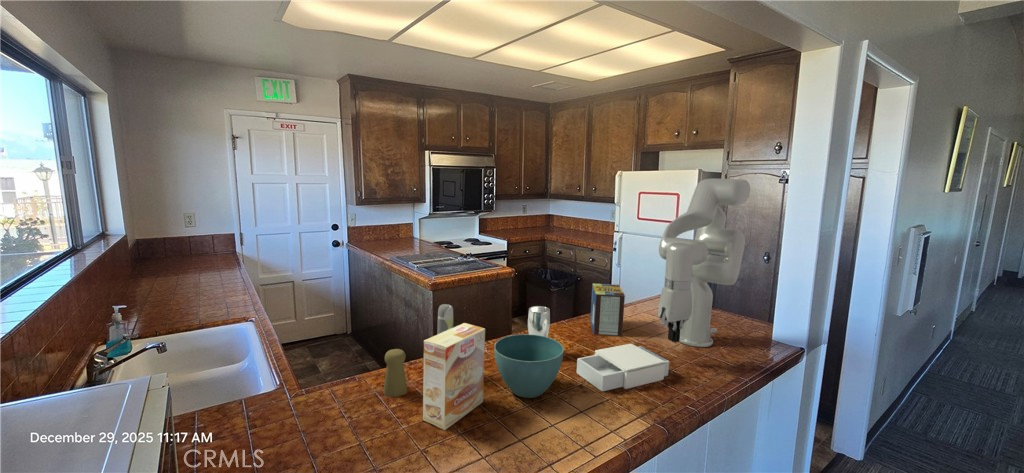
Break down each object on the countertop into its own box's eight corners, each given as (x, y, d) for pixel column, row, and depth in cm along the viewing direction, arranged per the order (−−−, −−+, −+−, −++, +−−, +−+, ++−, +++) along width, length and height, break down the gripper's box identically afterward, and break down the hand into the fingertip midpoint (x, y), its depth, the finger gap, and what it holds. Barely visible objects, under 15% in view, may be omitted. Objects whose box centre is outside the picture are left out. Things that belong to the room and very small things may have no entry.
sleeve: (629, 360, 135) (631, 343, 134) (663, 379, 123) (665, 361, 122) (593, 367, 129) (595, 350, 128) (625, 389, 117) (626, 370, 116)
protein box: (616, 322, 170) (619, 284, 168) (622, 336, 155) (625, 295, 153) (589, 320, 171) (592, 282, 169) (593, 334, 156) (595, 293, 154)
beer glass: (523, 356, 135) (525, 310, 133) (530, 348, 142) (532, 304, 140) (544, 360, 133) (546, 313, 131) (551, 352, 139) (553, 307, 137)
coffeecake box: (445, 431, 95) (446, 347, 92) (421, 420, 99) (421, 339, 96) (484, 402, 108) (486, 327, 105) (462, 393, 111) (463, 321, 109)
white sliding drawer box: (639, 359, 136) (640, 346, 135) (668, 375, 125) (669, 361, 124) (576, 372, 125) (577, 358, 124) (602, 391, 114) (603, 376, 114)
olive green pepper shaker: (411, 387, 114) (411, 348, 112) (398, 398, 108) (398, 357, 106) (392, 383, 115) (391, 344, 114) (378, 394, 110) (377, 353, 108)
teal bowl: (481, 398, 109) (482, 353, 107) (508, 369, 126) (509, 329, 124) (550, 415, 103) (552, 367, 101) (568, 382, 119) (571, 340, 118)
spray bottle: (457, 372, 123) (458, 305, 120) (443, 378, 119) (444, 309, 116) (446, 367, 126) (447, 301, 123) (432, 372, 123) (433, 304, 120)
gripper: (685, 277, 137) (681, 331, 140) (650, 283, 130) (646, 340, 134) (705, 283, 130) (700, 340, 133) (669, 290, 123) (664, 350, 127)
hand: (673, 340), depth 133 cm, fingers closed
